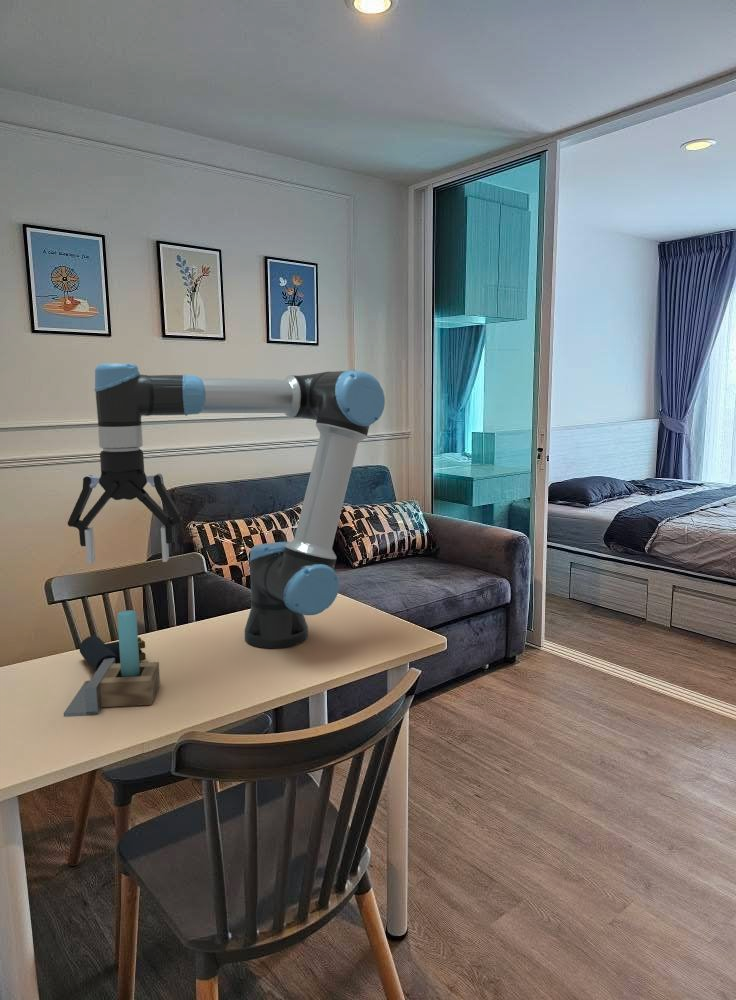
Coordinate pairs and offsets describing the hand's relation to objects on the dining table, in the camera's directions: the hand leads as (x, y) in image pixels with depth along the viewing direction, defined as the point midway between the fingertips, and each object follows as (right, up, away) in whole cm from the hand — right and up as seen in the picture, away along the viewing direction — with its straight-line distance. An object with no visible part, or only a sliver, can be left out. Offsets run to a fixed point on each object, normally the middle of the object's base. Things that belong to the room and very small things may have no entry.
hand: (128, 561), depth 128 cm
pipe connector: (-9, -24, +18) cm, 31 cm away
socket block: (-1, -26, +4) cm, 27 cm away
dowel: (-1, -26, +3) cm, 26 cm away
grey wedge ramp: (-8, -27, +3) cm, 28 cm away
